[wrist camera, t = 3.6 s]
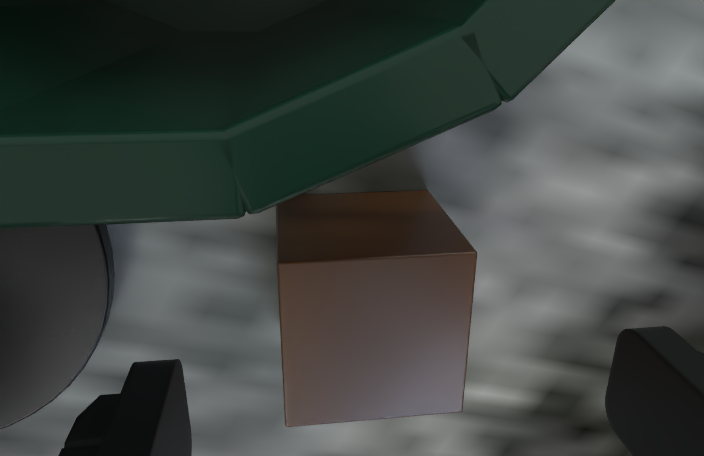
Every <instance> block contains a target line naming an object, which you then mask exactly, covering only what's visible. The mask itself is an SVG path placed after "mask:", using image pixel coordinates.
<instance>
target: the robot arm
mask: <svg viewBox="0 0 704 456" xmlns="http://www.w3.org/2000/svg"><path fill="white" fill-rule="evenodd" d="M605 407H606V413H607V417H608V420H609V422H610V425H611V427H612V429H613V430H614V432H615V433H616V434H617V436H618V437H619V438H620V440H621V441H622V442H623V444H624V445H625V446H626V447H627V449H628V450H629V451H630V453H631V454H632V455H633V456H704V354H703V353H701V352H699V351H697V350H696V349H695V348H693V347H692V346H691V345H690V344H689V343H687V342H686V341H685V340H684V339H683V338H682V337H680V336H679V335H678V334H677V333H676V332H675V331H673V330H672V329H671V328H668V327H665V326H662V327H647V328H633V329H625V330H623V331H622V332H621V333H620V334H619V336H618V338H617V342H616V347H615V352H614V357H613V362H612V367H611V372H610V376H609V381H608V386H607V391H606V397H605ZM191 452H192V438H191V427H190V419H189V412H188V405H187V398H186V390H185V383H184V376H183V369H182V364H181V362H180V360H179V359H174V360H159V361H145V362H134V363H133V364H132V366H131V368H130V371H129V373H128V376H127V378H126V381H125V383H124V386H123V388H122V391H121V393H120V394H109V395H100V396H99V397H98V398H97V399H96V400H95V401H94V402H92V403H91V404H90V405H89V406H88V407H87V408H86V409H85V410H84V411H83V412H82V413H81V414H80V415H79V416H78V417H77V418H76V420H75V422H74V424H73V427H72V429H71V431H70V433H69V435H68V437H67V439H66V441H65V447H64V448H62V450H61V452H60V454H59V456H191Z"/></svg>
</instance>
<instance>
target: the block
mask: <svg viewBox="0 0 704 456" xmlns="http://www.w3.org/2000/svg"><path fill="white" fill-rule="evenodd" d="M276 238H277V274H278V293H279V313H280V332H281V351H282V371H283V390H284V409H285V425H286V427H293V426H305V425H316V424H328V423H339V422H351V421H362V420H374V419H385V418H396V417H408V416H419V415H431V414H442V413H454V412H462V409H463V398H464V387H465V377H466V366H467V356H468V345H469V334H470V324H471V313H472V302H473V292H474V281H475V271H476V260H477V252H476V250H475V249H474V248H473V247H472V245H471V244H470V243H469V242H468V240H467V239H466V238H465V237H464V235H463V234H462V233H461V232H460V230H459V229H458V228H457V227H456V225H455V224H454V223H453V221H452V220H451V219H450V218H449V216H448V215H447V214H446V213H445V211H444V210H443V209H442V208H441V206H440V205H439V204H438V203H437V201H436V200H435V199H434V198H433V196H432V195H431V194H430V193H429V191H428V190H418V191H393V192H367V193H341V194H316V195H298V196H296V197H294V198H292V199H289V200H287V201H285V202H282V203H280V204H278V205H276Z"/></svg>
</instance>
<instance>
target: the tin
mask: <svg viewBox="0 0 704 456" xmlns="http://www.w3.org/2000/svg"><path fill="white" fill-rule="evenodd" d="M614 1H615V0H0V229H10V228H34V227H57V226H80V225H103V224H126V223H149V222H172V221H195V220H218V219H238V218H240V217H243V216H244V215H245V212H248V213H249V214H255V213H259V212H262V211H264V210H266V209H269V208H271V207H273V206H275V205H278V204H280V203H282V202H285V201H287V200H289V199H292V198H294V197H296V196H298V195H301V194H303V193H305V192H308V191H310V190H312V189H314V188H317V187H319V186H321V185H324V184H326V183H328V182H331V181H333V180H335V179H337V178H340V177H342V176H344V175H347V174H349V173H351V172H353V171H356V170H358V169H360V168H363V167H365V166H367V165H370V164H372V163H374V162H376V161H379V160H381V159H383V158H386V157H388V156H390V155H392V154H395V153H397V152H399V151H402V150H404V149H406V148H408V147H411V146H413V145H415V144H418V143H420V142H422V141H425V140H427V139H429V138H431V137H434V136H436V135H438V134H441V133H443V132H445V131H447V130H450V129H452V128H454V127H457V126H459V125H461V124H464V123H466V122H468V121H470V120H473V119H475V118H477V117H480V116H482V115H484V114H486V113H489V112H491V111H493V110H495V109H496V108H497V107H499V106H500V105H501V101H504V102H509V101H511V100H513V99H514V98H515V97H516V96H517V95H518V94H519V93H520V92H521V91H522V90H523V89H524V88H525V87H526V86H527V85H528V84H529V83H530V82H531V81H532V80H534V79H535V78H536V77H537V76H538V75H539V74H540V73H541V72H542V71H543V70H544V69H545V68H546V67H547V66H548V65H549V64H550V63H551V62H552V61H553V60H554V59H555V58H556V57H557V56H558V55H559V54H560V53H562V52H563V51H564V50H565V49H566V48H567V47H568V46H569V45H570V44H571V43H572V42H573V41H574V40H575V39H576V38H577V37H578V36H579V35H580V34H581V33H582V32H583V31H584V30H585V29H586V28H587V27H588V26H589V25H591V24H592V23H593V22H594V21H595V20H596V19H597V18H598V17H599V16H600V15H601V14H602V13H603V12H604V11H605V10H606V9H607V8H608V7H609V6H610V5H611V4H612V3H613V2H614Z"/></svg>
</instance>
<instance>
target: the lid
mask: <svg viewBox="0 0 704 456" xmlns="http://www.w3.org/2000/svg"><path fill="white" fill-rule="evenodd" d="M113 290H114V264H113V253H112V247H111V243H110V239H109V235H108V231H107V227H106V224H103V225H80V226H57V227H34V228H10V229H0V429H2V428H5V427H7V426H10V425H12V424H14V423H16V422H18V421H20V420H22V419H24V418H26V417H28V416H30V415H32V414H34V413H35V412H37V411H38V410H40V409H41V408H43V407H44V406H46V405H47V404H48V403H50V402H51V401H53V400H54V399H55V398H56V397H57V396H58V395H60V394H61V393H62V392H63V391H64V390H65V389H66V388H67V387H68V386H70V384H71V383H72V382H73V381H74V380H75V378H76V377H77V376H78V375H79V373H80V372H81V371H82V370H83V369H84V367H85V365H86V364H87V362H88V360H89V359H90V357H91V355H92V354H93V352H94V350H95V349H96V347H97V345H98V343H99V341H100V338H101V336H102V333H103V331H104V328H105V326H106V323H107V321H108V318H109V313H110V309H111V304H112V300H113Z"/></svg>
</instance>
